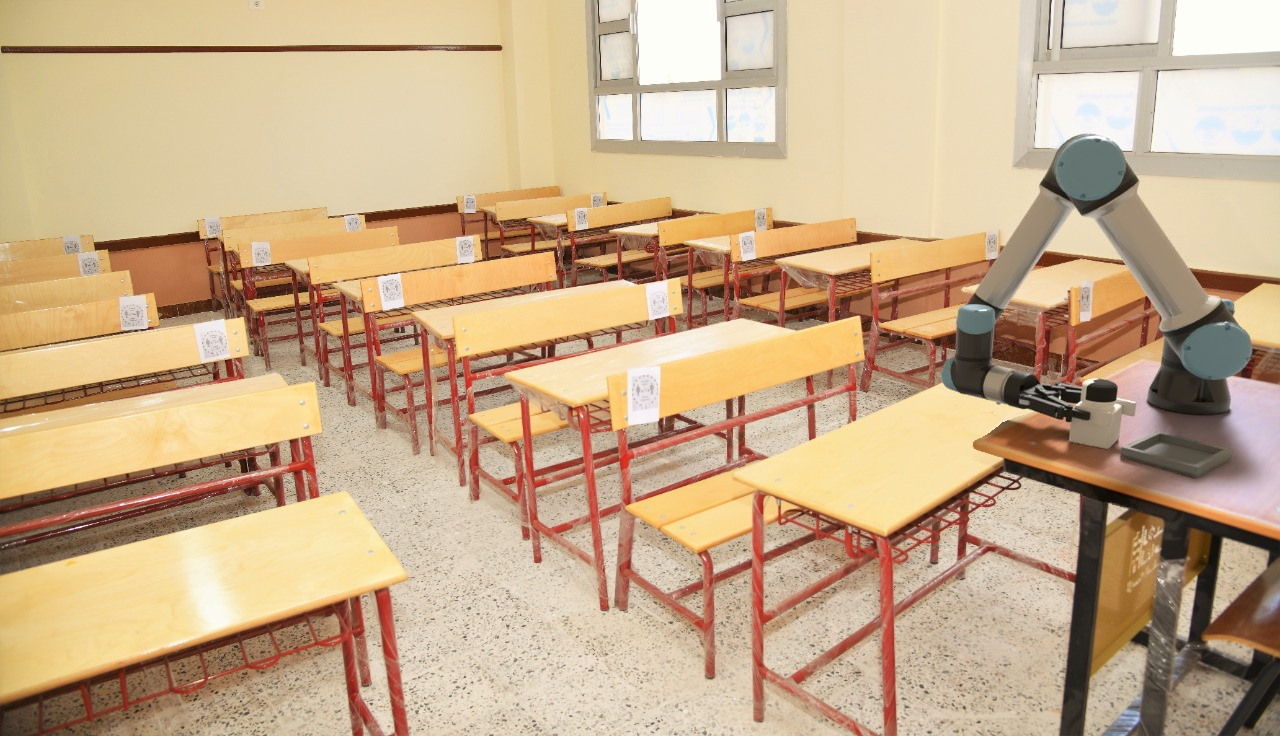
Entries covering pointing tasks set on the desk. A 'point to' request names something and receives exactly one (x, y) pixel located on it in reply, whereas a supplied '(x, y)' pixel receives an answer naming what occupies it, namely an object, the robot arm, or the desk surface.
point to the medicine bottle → (1101, 398)
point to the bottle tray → (1176, 454)
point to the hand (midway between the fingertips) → (1121, 414)
